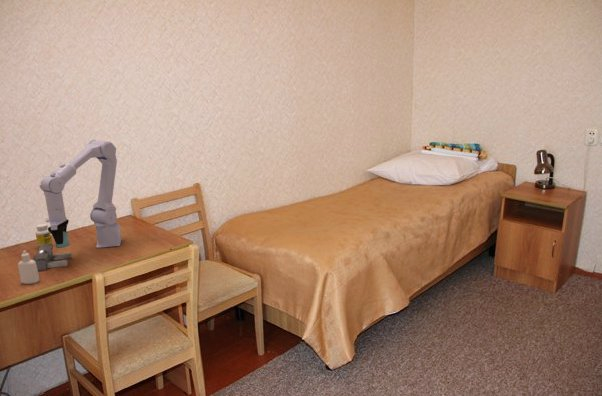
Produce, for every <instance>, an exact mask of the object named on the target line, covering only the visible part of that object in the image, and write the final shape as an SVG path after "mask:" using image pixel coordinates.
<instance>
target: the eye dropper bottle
mask: <svg viewBox="0 0 602 396" xmlns="http://www.w3.org/2000/svg"><path fill="white" fill-rule="evenodd" d="M20 256H21V260H20V261H19V262H18V263H17V267H18V273H19V278H20V283H21V284H25V285H27V284H28V285H32V284H36V283H38V282H39V281H40V276H39V271H38V270H37V265H36V262H35V261H34V260H33V259H31V256H30V253H29V252H27V250H22V254H21V255H20Z"/></svg>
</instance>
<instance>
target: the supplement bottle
mask: <svg viewBox="0 0 602 396" xmlns="http://www.w3.org/2000/svg"><path fill="white" fill-rule="evenodd" d="M48 228H49V226H48V223H39V224H37V225H36V230H35V237H36V243H37V244H36V245H37V248H38V250H39V249H40V247H41V246H42V245H43V244H50V245H51V246H52V247H53V240H52V234H51V233H50V232H49V231H48Z"/></svg>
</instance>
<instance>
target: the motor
mask: <svg viewBox="0 0 602 396" xmlns="http://www.w3.org/2000/svg"><path fill="white" fill-rule="evenodd" d="M72 258H73V255H72V252H66V253H65V252H63V253H55V254H54V247H53V245H52V246H51V245H50V244H43V245H42V246H41V247H40V249H39V248H38V250H37V251H36V253H35V254H34V256H33V259H32V260H34V261H35V262H36V265H37V270H38V272H40V271H41V272H42V271H47V270H48V269H52V268H61V267H68V266H69V262H68V260H69V259H72Z"/></svg>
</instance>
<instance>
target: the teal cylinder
mask: <svg viewBox="0 0 602 396" xmlns="http://www.w3.org/2000/svg"><path fill="white" fill-rule="evenodd" d="M54 244H55V248H56V249H64V248H68V247H69V246H70V240H69V232H68V231H66V232H65V231H64V232H63V244H56V242H55V241H54Z"/></svg>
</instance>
